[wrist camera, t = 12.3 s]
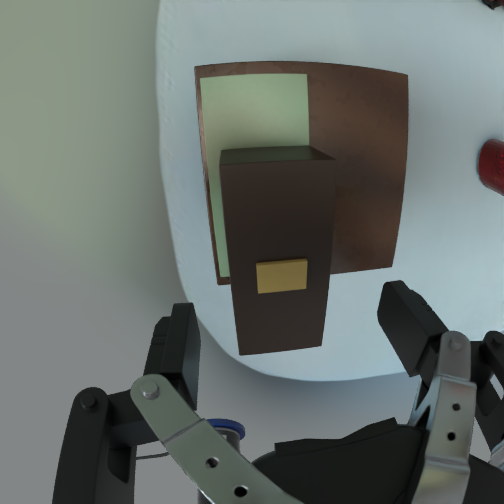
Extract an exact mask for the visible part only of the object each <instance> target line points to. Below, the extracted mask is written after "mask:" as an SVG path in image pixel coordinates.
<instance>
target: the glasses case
mask: <svg viewBox="0 0 504 504" xmlns="http://www.w3.org/2000/svg"><path fill="white" fill-rule="evenodd" d="M336 163H337V160H336V159H334V158H332V157H331V156H329V155H327V154H325V153H323V152H321V151H319V150H317V149H315V148H313V147H311V146H309V145H305V146H274V147H255V148H240V149H228V150H221V154H220V160H219V166H218V167H219V178H220V188H221V199H222V209H223V219H224V228H225V238H226V247H227V256H228V265H229V274H230V283H231V291H232V300H233V308H234V316H235V324H236V332H237V340H238V348H239V355H240V356H242V355H253V354H263V353H272V352H281V351H289V350H297V349H304V348H311V347H318V346H321V345H322V338H323V331H324V323H325V316H326V307H327V299H328V290H329V280H330V270H331V259H332V246H333V232H334V216H335V196H336Z"/></svg>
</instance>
